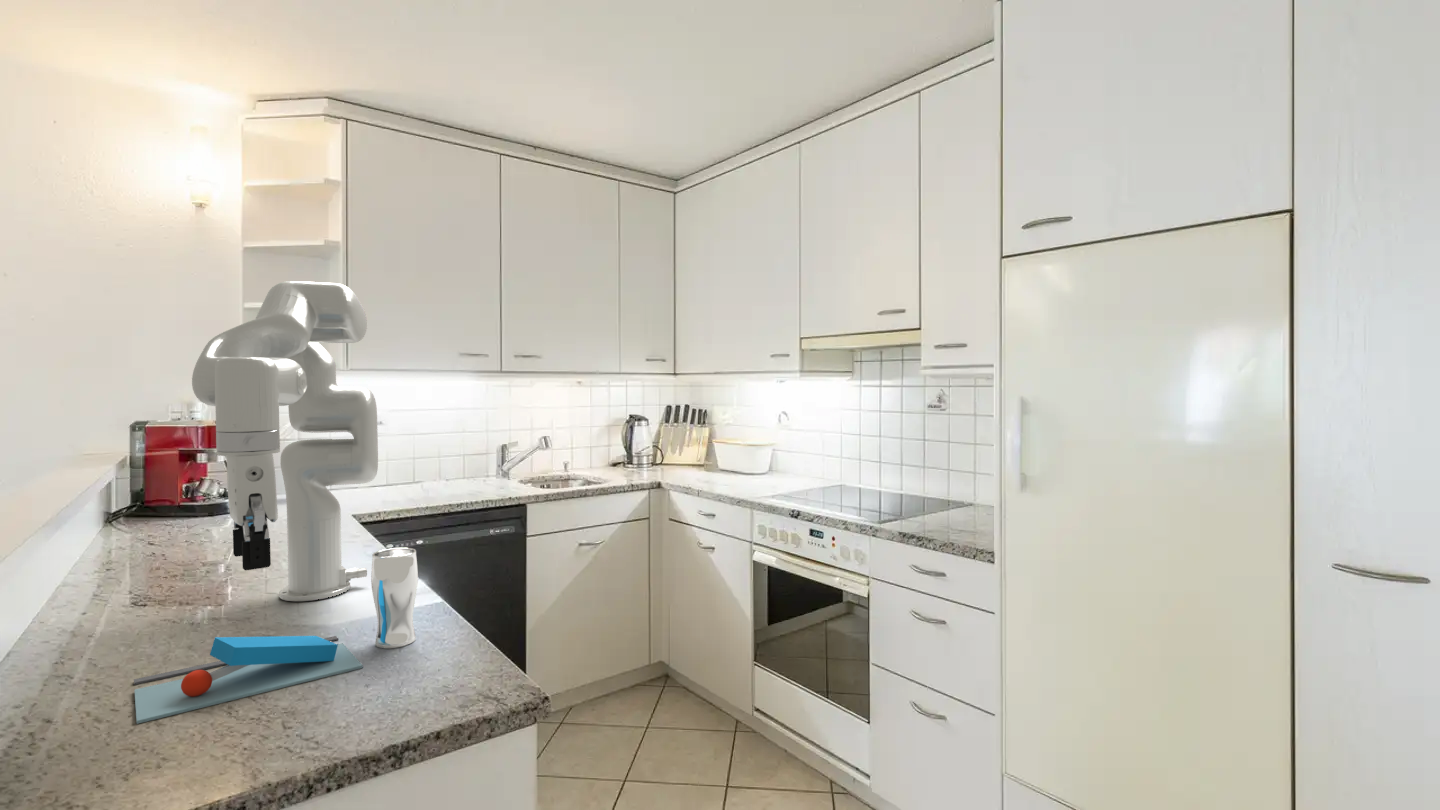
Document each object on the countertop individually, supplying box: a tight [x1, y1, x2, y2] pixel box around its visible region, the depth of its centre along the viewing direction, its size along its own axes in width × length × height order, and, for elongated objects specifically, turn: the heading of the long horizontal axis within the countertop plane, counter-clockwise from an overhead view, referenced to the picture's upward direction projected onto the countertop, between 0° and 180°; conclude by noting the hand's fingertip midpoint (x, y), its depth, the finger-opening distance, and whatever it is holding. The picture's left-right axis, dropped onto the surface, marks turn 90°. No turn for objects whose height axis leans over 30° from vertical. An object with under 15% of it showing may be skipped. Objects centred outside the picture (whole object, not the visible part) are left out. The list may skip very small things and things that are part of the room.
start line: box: [133, 635, 339, 686], centre depth 107 cm, size 26×2×1 cm, turn 131°
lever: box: [181, 635, 338, 697], centre depth 100 cm, size 7×7×18 cm
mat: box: [134, 643, 364, 725], centre depth 100 cm, size 26×12×1 cm, turn 131°
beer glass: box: [370, 547, 419, 649], centre depth 114 cm, size 7×7×15 cm
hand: (251, 561), depth 99 cm, fingers open, 9 cm apart
